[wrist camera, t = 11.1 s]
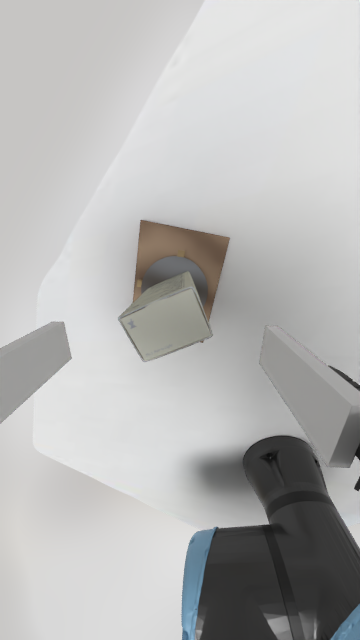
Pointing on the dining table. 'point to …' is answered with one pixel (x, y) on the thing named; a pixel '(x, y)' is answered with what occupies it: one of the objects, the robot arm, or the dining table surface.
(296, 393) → the robot arm
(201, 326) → the skincare box
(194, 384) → the dining table surface
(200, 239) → the bayonet base
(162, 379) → the dining table surface
